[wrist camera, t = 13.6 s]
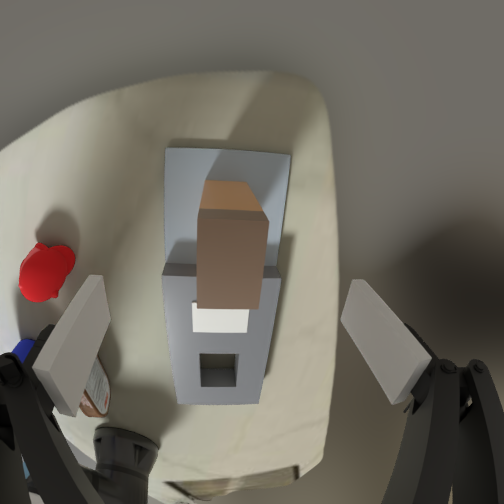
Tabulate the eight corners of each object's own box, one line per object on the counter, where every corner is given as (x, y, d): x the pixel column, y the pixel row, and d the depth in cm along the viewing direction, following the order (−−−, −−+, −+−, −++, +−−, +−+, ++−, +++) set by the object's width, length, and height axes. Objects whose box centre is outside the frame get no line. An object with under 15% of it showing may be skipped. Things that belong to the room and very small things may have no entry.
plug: (202, 238, 28) (196, 308, 17) (204, 179, 26) (197, 218, 15) (241, 239, 29) (258, 309, 18) (246, 182, 26) (269, 221, 16)
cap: (38, 309, 27) (55, 320, 24) (6, 281, 22) (17, 289, 20) (68, 260, 31) (89, 263, 28) (40, 230, 27) (56, 228, 24)
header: (178, 386, 39) (177, 404, 35) (166, 259, 30) (161, 276, 26) (255, 386, 40) (258, 404, 37) (274, 262, 31) (282, 279, 28)
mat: (166, 259, 30) (165, 262, 29) (166, 147, 25) (165, 147, 24) (274, 262, 31) (276, 266, 31) (288, 154, 26) (290, 155, 26)
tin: (68, 317, 31) (45, 359, 24) (87, 318, 32) (65, 362, 24) (101, 386, 38) (90, 426, 30) (117, 388, 38) (108, 429, 30)
